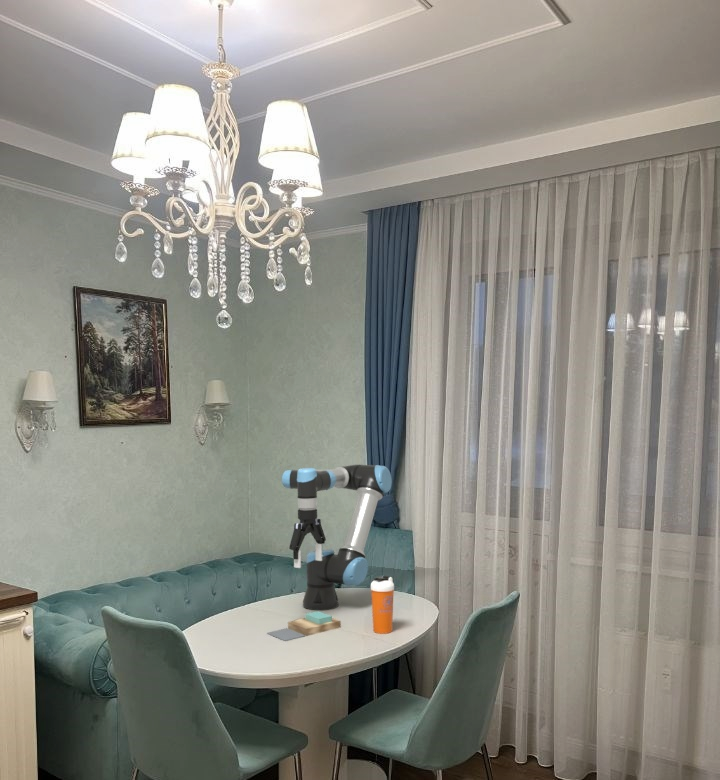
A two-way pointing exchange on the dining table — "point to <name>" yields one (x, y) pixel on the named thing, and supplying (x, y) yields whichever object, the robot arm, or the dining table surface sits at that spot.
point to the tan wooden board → (312, 626)
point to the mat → (286, 634)
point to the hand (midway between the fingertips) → (308, 564)
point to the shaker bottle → (382, 604)
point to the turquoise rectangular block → (318, 617)
